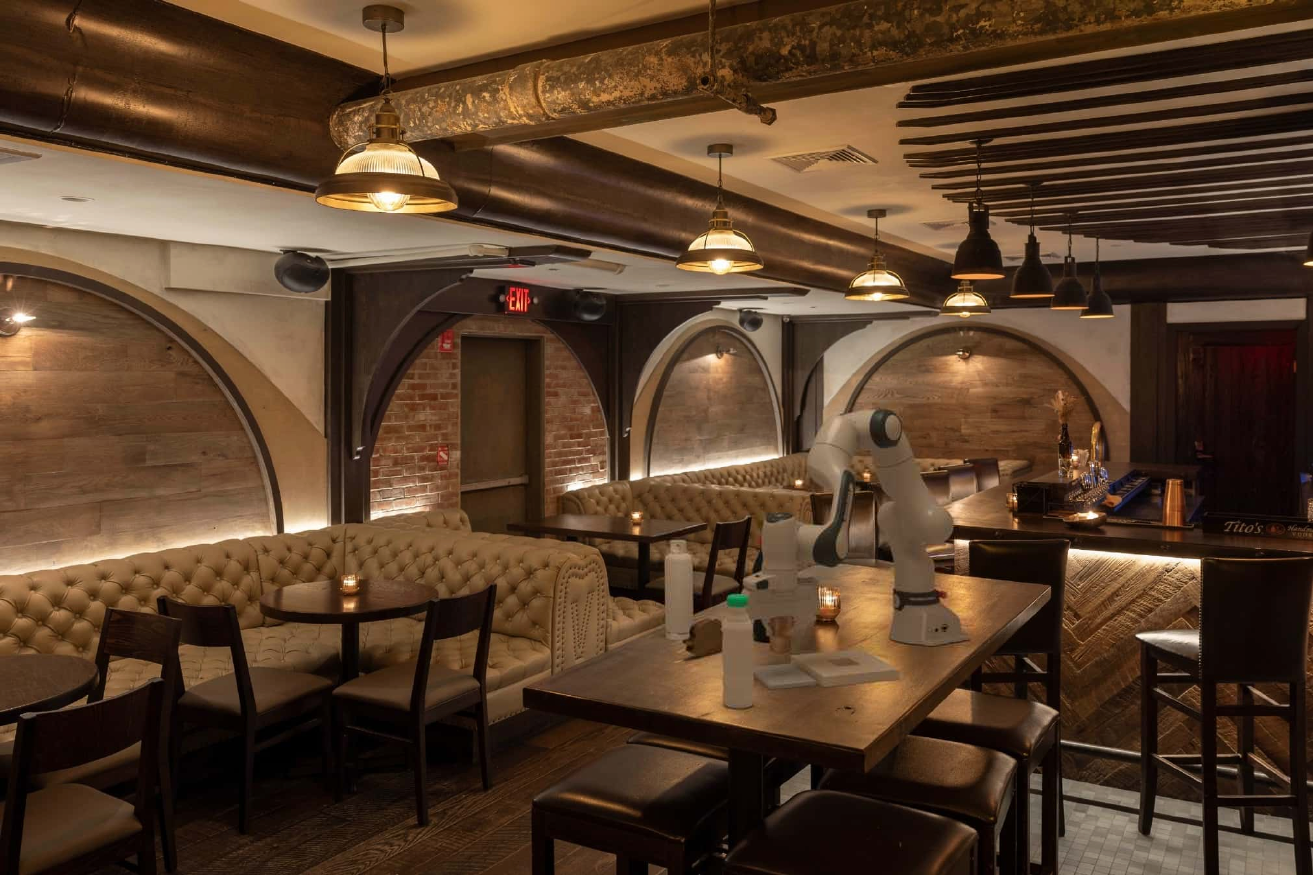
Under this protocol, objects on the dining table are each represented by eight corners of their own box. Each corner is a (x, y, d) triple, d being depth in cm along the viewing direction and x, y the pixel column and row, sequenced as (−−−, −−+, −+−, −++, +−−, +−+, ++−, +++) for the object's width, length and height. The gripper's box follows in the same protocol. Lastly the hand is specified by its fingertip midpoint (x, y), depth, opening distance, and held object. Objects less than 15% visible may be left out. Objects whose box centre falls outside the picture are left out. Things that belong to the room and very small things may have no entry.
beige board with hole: (860, 658, 258) (860, 648, 258) (899, 679, 239) (899, 669, 239) (790, 664, 253) (790, 655, 253) (824, 686, 234) (824, 676, 234)
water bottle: (720, 700, 225) (719, 592, 224) (750, 698, 225) (749, 591, 224) (725, 710, 218) (724, 599, 217) (756, 708, 218) (755, 598, 217)
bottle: (697, 634, 285) (696, 539, 284) (686, 641, 278) (685, 543, 277) (672, 632, 289) (671, 538, 288) (661, 638, 282) (659, 542, 280)
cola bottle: (785, 636, 282) (784, 533, 280) (779, 644, 274) (778, 537, 272) (756, 635, 284) (755, 532, 283) (749, 642, 276) (748, 536, 275)
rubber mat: (790, 667, 251) (790, 663, 251) (816, 684, 235) (816, 680, 235) (746, 671, 248) (746, 667, 247) (770, 689, 232) (770, 685, 232)
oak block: (784, 648, 244) (784, 612, 243) (791, 652, 240) (791, 616, 239) (769, 649, 242) (769, 614, 242) (776, 653, 239) (775, 617, 238)
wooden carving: (717, 647, 271) (717, 612, 271) (730, 650, 268) (730, 614, 268) (679, 660, 259) (678, 622, 259) (692, 663, 256) (691, 625, 255)
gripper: (813, 574, 246) (813, 628, 247) (736, 579, 241) (737, 634, 241) (824, 578, 240) (824, 634, 241) (745, 584, 235) (746, 641, 235)
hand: (780, 634), depth 241 cm, fingers closed on oak block, 4 cm apart
